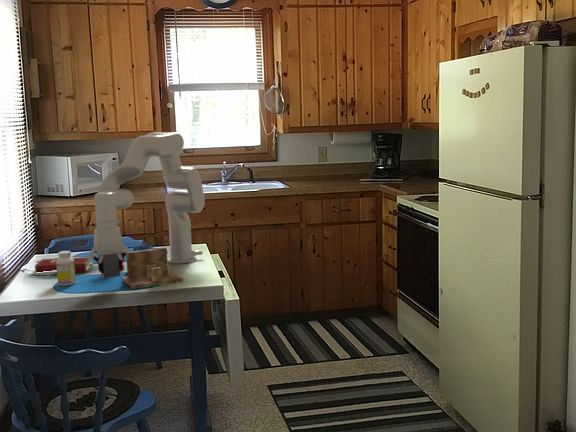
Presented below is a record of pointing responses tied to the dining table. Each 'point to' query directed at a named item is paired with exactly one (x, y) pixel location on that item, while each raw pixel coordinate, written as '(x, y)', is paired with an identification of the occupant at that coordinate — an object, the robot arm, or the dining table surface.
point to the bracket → (110, 266)
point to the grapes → (141, 247)
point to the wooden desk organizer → (149, 269)
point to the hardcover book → (50, 265)
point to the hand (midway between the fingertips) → (110, 271)
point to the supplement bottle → (65, 269)
